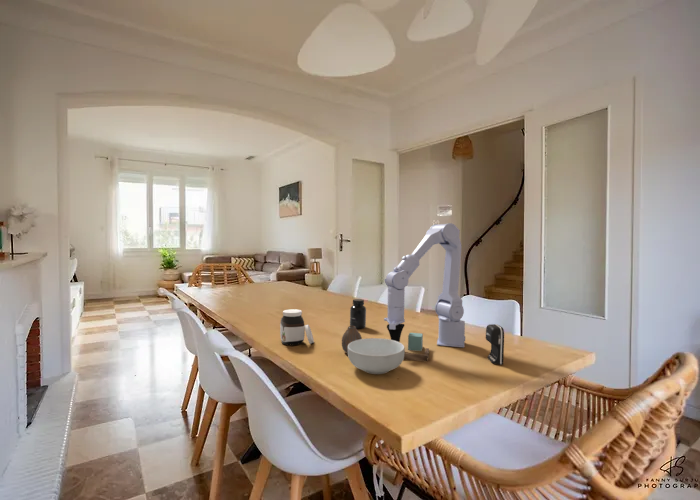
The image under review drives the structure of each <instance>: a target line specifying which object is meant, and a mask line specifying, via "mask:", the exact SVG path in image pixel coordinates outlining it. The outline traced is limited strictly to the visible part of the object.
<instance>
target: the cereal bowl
mask: <svg viewBox="0 0 700 500" xmlns="http://www.w3.org/2000/svg"><path fill="white" fill-rule="evenodd" d="M404 353H406V350H405V345H404V344H403V343H402V342H401V341H400V342H397V341H394V340H391V338H390V339H389V338H381V337H379V338H376V337H375V338H373V337H371V338H362V339H360V340H355V341H353V342H351V343H349V344H348V354H347V356H348V360H349V362H350V363H351V364H352V365H353V366H354V367H356V368H357V369H359V370H361V371H363V372H365V373H368V374H371V375H383V374H387V373H389V371H392V370H395V369H396V368H398V367H400V365H401V364H402V363H403V361H404V360H405V359H404Z"/></svg>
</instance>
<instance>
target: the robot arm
mask: <svg viewBox="0 0 700 500" xmlns="http://www.w3.org/2000/svg"><path fill="white" fill-rule="evenodd" d="M460 231H461V230H460V229H459V228H458V227H457V225H456V224H454V223H452V222H451V223H450V222H448V223H439V224H437V223H435V224H433V225H431V226H430V227H429V229H427V230H426V233H425V235H424V237H423V238H422V240H421V241H420V242H419V244H418V245H417V246H416V248H414V250H413V251H412V252H411V254H406V255H403V256H402V257H401V261H400V262H399V263H398V264H397V266H395V267H393V271H390V272H388V273H387V274H386V275H385V276H386V278H384V283H385V285H386V286H387V317H384V318H383V321H384V322H387V323H388V324H387V325H386V329H387V331H388V333H389V336H390V337H389V338H390V340H394V341H397V342H400V343H401V336H402V333H403V329H404V328H405V324H404V323H405V321H406V320H405V319H406V318H405V288H406V287H407V286H408V284H409V279H410V277H411V276H412V275H413V274H414V273H415V271H416V270H417V269H418V268H419V266H420V260H421V259H422V258H423V257H424V256H425V254H427V252H428V251H429V250H430V249H431V248H432V247H433V246H434V245H438V244H439V245H441V247H442V248H443V249H444V250H445V257H444V268H443V279H442V280H443V281H442V291H441V293H440V294H439V295H438V296H437V301H436V303H435V306H434V312H435V313H436V315H437V318H438V338H437V340H436V345H437V346H444V347H453V348H454V347H455V348H465V342H466V336H465V335H466V333H465V332H466V331H465V330H466V327H465V326H466V325H465V324H466V323H465V322H466V321H465V320H461V319H462V318H463V316H464V313H465V312H464V311H465V310H464V306H463V300H462V298H461V296H460V295H459V282H460V273H461V272H460V271H461V270H460V269H461V259H462V258H461V257H462V241H461V239H460V233H461V232H460Z"/></svg>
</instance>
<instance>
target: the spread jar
mask: <svg viewBox="0 0 700 500" xmlns="http://www.w3.org/2000/svg"><path fill="white" fill-rule="evenodd" d="M302 314H303V311H302V310H301V309H296V308H294V309H293V308H292V309H284V310H283V311H282V317H281V318H280V323H279V327H280V328H279V329H280V331H279V334H280V336H279V337H280V341H281V343H282V344H283V345H285V346H298V345H301V344H302V343H304V341H305V334H306V338H307V341H308V343H309V344H314V343H315V340H314V335H313V332H312V329H311V327H310V325H309V324H305V320H304V318H303V316H302Z"/></svg>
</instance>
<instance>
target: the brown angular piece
mask: <svg viewBox="0 0 700 500" xmlns="http://www.w3.org/2000/svg"><path fill="white" fill-rule="evenodd" d="M429 355H430V348H427V347H425V351H424V353H420V354H419V353H414V352H413V353H412V352H405V353H404V359H403V360H408V361H418V362H419V361H420V362H428V361H429V357H430V356H429Z"/></svg>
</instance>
